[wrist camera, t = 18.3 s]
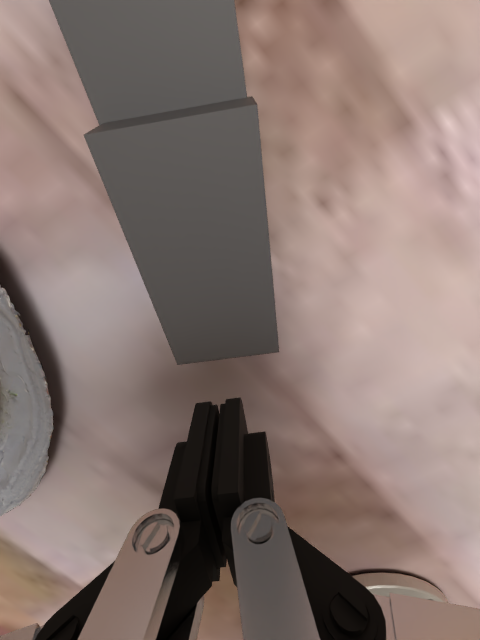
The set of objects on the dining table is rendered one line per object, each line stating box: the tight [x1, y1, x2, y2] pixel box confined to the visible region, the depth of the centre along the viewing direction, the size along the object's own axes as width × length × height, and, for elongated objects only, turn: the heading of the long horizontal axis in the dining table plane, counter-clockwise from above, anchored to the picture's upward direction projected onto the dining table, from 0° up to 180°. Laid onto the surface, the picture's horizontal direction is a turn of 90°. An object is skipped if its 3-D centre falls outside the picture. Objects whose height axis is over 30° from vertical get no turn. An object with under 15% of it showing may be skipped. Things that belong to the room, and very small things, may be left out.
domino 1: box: [49, 0, 247, 125], centre depth 11 cm, size 2×5×10 cm
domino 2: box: [84, 97, 279, 365], centre depth 13 cm, size 2×5×10 cm
